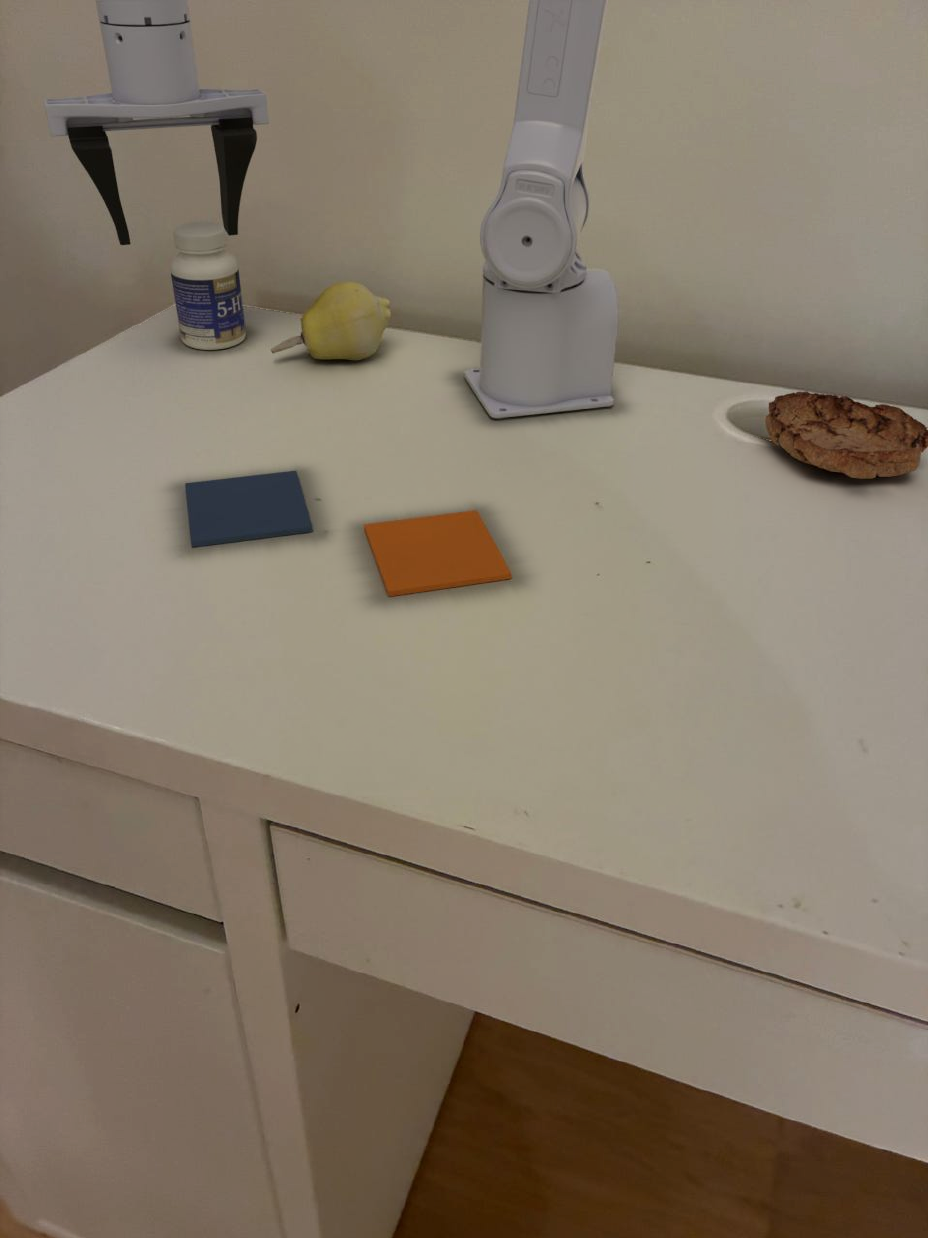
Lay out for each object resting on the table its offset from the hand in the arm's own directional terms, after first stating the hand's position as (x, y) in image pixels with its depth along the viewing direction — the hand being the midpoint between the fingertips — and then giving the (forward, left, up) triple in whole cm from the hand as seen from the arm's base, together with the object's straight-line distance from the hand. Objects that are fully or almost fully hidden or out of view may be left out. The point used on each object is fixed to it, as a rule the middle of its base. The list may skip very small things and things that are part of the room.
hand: (178, 236), depth 73 cm
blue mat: (-2, +24, -10) cm, 26 cm away
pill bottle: (-2, -4, -10) cm, 11 cm away
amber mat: (-12, +31, -10) cm, 35 cm away
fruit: (-11, +2, -10) cm, 15 cm away
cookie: (-41, +26, -6) cm, 49 cm away
